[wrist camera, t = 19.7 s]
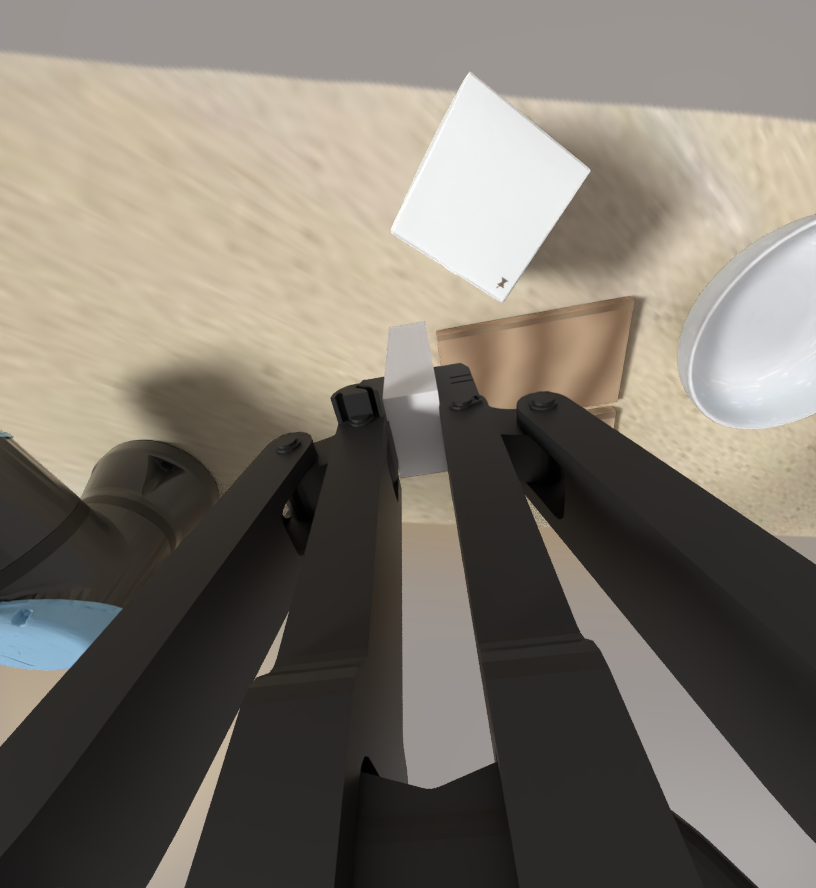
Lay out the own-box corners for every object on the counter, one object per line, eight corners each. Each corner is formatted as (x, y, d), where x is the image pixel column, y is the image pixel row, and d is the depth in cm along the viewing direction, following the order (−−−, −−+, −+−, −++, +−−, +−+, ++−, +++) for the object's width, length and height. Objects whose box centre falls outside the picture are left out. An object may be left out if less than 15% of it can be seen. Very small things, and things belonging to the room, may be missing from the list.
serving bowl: (631, 408, 48) (663, 438, 42) (685, 212, 37) (737, 216, 31) (804, 396, 48) (860, 424, 42) (912, 192, 36) (1009, 193, 30)
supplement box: (528, 177, 35) (599, 170, 22) (471, 271, 39) (504, 309, 27) (443, 111, 32) (470, 62, 20) (392, 219, 37) (387, 234, 24)
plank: (448, 422, 49) (449, 428, 48) (436, 330, 42) (437, 335, 41) (612, 396, 47) (617, 402, 46) (628, 296, 40) (635, 300, 39)
